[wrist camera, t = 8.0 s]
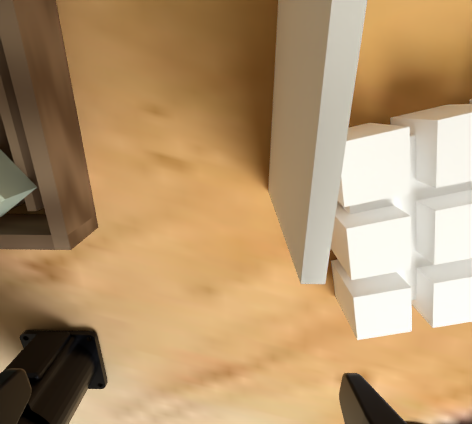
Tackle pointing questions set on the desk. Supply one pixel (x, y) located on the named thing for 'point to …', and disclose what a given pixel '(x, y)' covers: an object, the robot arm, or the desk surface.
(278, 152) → the sheet
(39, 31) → the tray
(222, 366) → the desk surface
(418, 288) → the organizer
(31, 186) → the offcut upper
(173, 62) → the desk surface
